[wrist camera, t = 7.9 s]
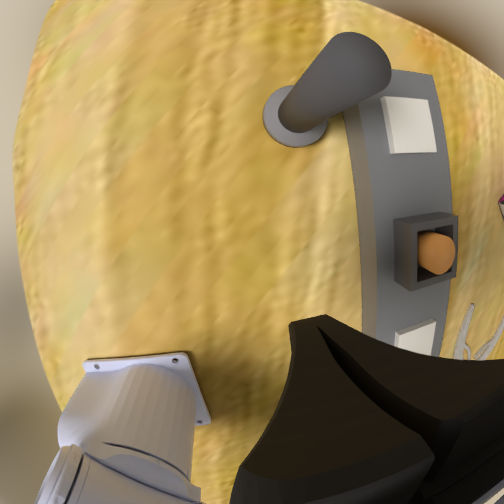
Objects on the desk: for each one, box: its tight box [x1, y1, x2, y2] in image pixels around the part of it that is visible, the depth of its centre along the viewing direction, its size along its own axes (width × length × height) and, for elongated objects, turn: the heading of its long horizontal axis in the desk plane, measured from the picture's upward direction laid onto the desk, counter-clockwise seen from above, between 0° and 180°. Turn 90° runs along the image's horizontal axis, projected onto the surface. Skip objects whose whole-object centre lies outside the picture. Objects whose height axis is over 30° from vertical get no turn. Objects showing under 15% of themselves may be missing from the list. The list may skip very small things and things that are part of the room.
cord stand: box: [263, 32, 392, 148], centre depth 12 cm, size 4×4×10 cm
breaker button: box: [417, 230, 455, 275], centre depth 16 cm, size 2×2×2 cm
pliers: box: [453, 304, 504, 360], centre depth 24 cm, size 10×2×15 cm
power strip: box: [342, 69, 458, 357], centre depth 17 cm, size 7×24×4 cm, turn 9°
